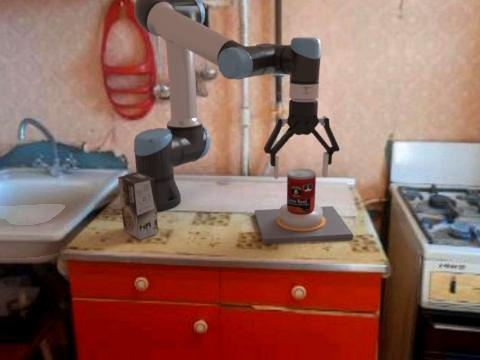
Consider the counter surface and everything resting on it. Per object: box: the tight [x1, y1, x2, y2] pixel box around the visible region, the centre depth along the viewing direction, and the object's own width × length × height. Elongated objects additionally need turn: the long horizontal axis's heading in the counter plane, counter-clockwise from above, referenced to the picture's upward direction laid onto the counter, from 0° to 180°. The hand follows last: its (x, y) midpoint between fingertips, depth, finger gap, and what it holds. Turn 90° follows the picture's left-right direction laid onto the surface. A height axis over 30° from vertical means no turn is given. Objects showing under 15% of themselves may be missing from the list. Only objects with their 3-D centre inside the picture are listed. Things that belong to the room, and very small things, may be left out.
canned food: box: [286, 168, 317, 215], centre depth 133 cm, size 8×8×11 cm
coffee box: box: [117, 172, 159, 240], centre depth 133 cm, size 9×6×16 cm
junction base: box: [253, 203, 354, 245], centre depth 136 cm, size 20×24×5 cm
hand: (300, 176), depth 132 cm, fingers open, 13 cm apart
